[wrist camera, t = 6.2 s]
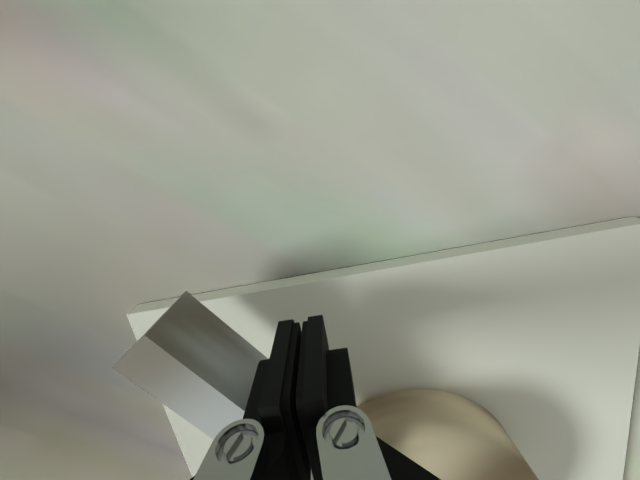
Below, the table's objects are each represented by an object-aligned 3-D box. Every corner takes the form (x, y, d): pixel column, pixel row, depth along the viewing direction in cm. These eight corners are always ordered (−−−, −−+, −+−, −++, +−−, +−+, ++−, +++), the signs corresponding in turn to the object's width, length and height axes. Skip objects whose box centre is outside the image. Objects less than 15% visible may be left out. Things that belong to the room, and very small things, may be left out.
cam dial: (550, 471, 17) (640, 592, 12) (398, 566, 19) (426, 701, 14) (274, 200, 12) (249, 229, 8) (114, 362, 14) (20, 460, 10)
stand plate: (596, 555, 21) (612, 577, 20) (254, 603, 22) (251, 626, 20) (632, 216, 14) (658, 221, 13) (138, 304, 15) (124, 316, 14)
